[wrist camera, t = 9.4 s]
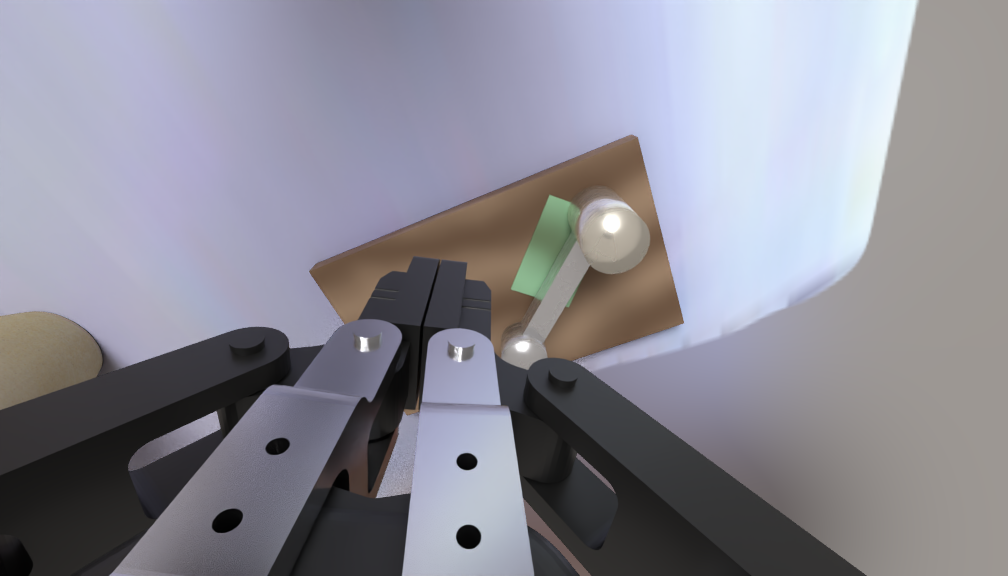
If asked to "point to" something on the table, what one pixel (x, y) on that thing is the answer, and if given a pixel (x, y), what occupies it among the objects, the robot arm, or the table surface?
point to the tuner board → (529, 256)
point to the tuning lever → (578, 267)
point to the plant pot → (43, 356)
